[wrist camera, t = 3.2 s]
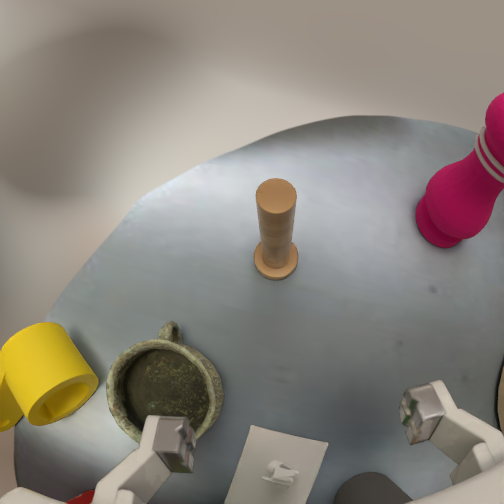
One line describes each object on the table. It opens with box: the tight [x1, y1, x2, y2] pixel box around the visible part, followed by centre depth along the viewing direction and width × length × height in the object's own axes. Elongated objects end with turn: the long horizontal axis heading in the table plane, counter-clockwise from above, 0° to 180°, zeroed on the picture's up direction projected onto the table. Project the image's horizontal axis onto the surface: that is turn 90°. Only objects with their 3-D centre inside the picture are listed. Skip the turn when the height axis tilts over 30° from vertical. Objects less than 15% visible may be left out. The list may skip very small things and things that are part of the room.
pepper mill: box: [416, 93, 504, 248], centre depth 20 cm, size 7×7×20 cm
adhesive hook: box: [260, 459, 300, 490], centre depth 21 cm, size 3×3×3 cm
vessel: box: [106, 321, 224, 444], centre depth 23 cm, size 12×9×6 cm
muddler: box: [254, 178, 298, 280], centre depth 24 cm, size 4×4×12 cm
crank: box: [0, 322, 99, 432], centre depth 23 cm, size 18×8×6 cm
